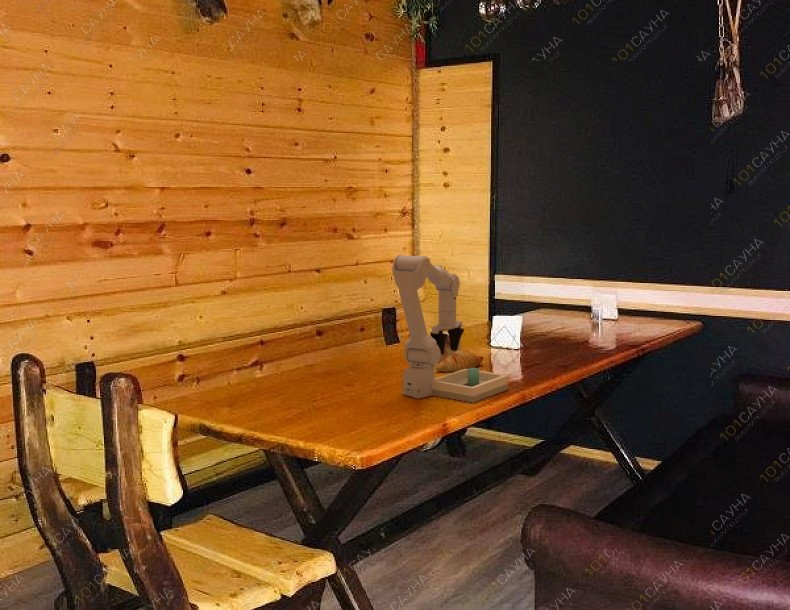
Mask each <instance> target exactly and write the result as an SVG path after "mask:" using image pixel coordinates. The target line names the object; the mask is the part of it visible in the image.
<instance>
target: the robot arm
mask: <svg viewBox="0 0 790 610" xmlns="http://www.w3.org/2000/svg"><path fill="white" fill-rule="evenodd" d="M391 270H392V274H393V279H394V281H395V282H394V283H395V285H396V286H397V288H398V293H399V297H400V301H401V305H402V309H403V314H404V316H405V321H406V326H407V328H408V333H409V334H408V335H409V337H408V338H407V340H406V341H405V343H404V358H405V360H406V362H407V363H408V366H409V367H407V368H406V369H404V371H403V374H402V391H401V394H402V395H403V396H408V397H412V398H415V399H423V398H427V397H431V396H433V395H434V394H432V381H434V380H435V378H436V377H435V373H436V372H435V370H436V365H439V364H438V363H440V362H439V360H440V356H441V355H443V354H444V350H445V342H446V338H447V335H448V334H449V339H450V348H451V350H454V351H457V349H458V345H459V341H460V338H461V339H462V336H463V334H464V332H465V329H464V328H463V321H460V320H457V297H458V296H459V288H460V285H461V282H460V278H459V276H458V275H457V274H454V273H450V272H449V270H447V269H445V268H443V266H442V265H441V264H436V265H433V264H432V263H431V259H430V258H429V257H427V256H426V255H421V256H418V255H402V254H398V255H396V257H394V259H393V262H392V268H391ZM426 280H428V281H429V282H430V283H431V284H433V285H434V288H435V290H436V291H438V324H436V325H434V326H432V327H431V331H430V333H428V331H427V326H426V322H425V318H424V313H423V309H422V305H421V301H420V300H421V299H420V297H419V292H418V290H419V289H421V288H423V287H424V286H425V285H424V284H425V283H426ZM443 332H448V334H444V333H443Z"/></svg>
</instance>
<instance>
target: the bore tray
mask: <svg viewBox="0 0 790 610" xmlns="http://www.w3.org/2000/svg"><path fill="white" fill-rule="evenodd" d="M507 389H508V390H509V375H507V374H501V373H500V374H499V373H495V372H488V371H484V370H482V371H481V370H479V384H478V385H476V386H473V387H470V386H468V369H463V370H460V371H457V372H450V373H447V374H445V375H442V376H439V377H435V380H434V381H432V394H434V395H432V396H433V397H438V396H439V397H440V398H443V397H444V399H448V398H450V400H454V399H456V400H455V401H459V400H461V401H460V402H464V401H467V402H466V403H470V402H472V403H471V404H474V402H475V403H477V402H480V401H481V399H482V400H485V399H487V398H490V397H493V396H495V395H497V393H498V394H500V393H502V392H505V391H507ZM494 394H495V395H494ZM492 395H493V396H492ZM489 396H490V397H489ZM486 397H487V398H486ZM484 398H485V399H484ZM479 400H480V401H479ZM476 401H477V402H476Z"/></svg>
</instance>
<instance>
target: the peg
mask: <svg viewBox="0 0 790 610" xmlns="http://www.w3.org/2000/svg"><path fill="white" fill-rule="evenodd" d="M479 371H480V368H478V367H474V368H468V386H470V387H473V386H476V385H478V384H479Z"/></svg>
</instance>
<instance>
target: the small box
mask: <svg viewBox="0 0 790 610" xmlns="http://www.w3.org/2000/svg"><path fill="white" fill-rule="evenodd" d="M443 333H444V334H448V331H443ZM461 339H462V337H461V338H460V341H459V345H458V349H457V351H459V350H462V348H461V347H462V345H461V343H462V340H461ZM453 352H455V351H454V350H451V348H450V339H449V334H448V335H447V338H446V342H445V350H444V354H443V355H441V356H440V360H439V362H438V363H440V362H441V361H443V360H445V359H446V357H448V356H450V355H451V354H452V353H453Z"/></svg>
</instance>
